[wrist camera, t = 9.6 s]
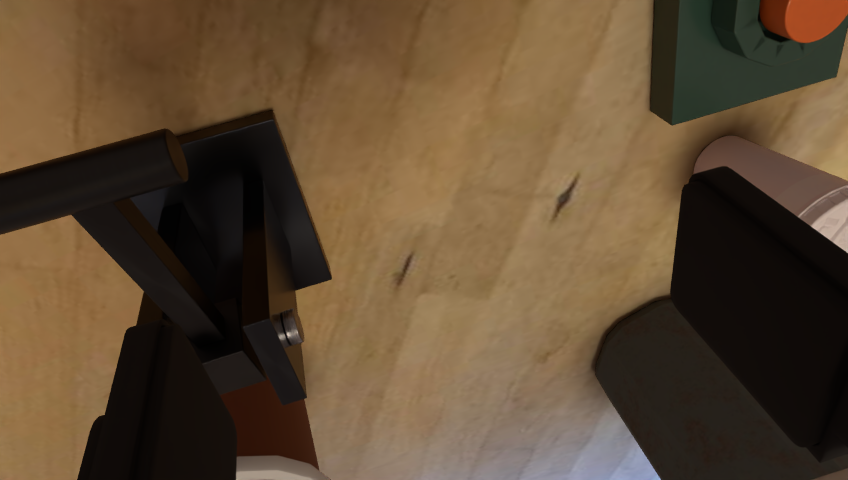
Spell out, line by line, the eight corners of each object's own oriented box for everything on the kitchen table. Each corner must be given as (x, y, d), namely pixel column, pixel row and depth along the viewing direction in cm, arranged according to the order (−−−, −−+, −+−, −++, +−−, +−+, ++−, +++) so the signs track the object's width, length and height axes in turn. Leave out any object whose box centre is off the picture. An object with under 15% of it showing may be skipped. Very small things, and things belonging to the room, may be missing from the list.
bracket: (106, 155, 28) (36, 317, 19) (272, 109, 29) (285, 243, 20) (193, 308, 34) (173, 491, 25) (330, 267, 35) (361, 429, 25)
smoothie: (668, 217, 39) (840, 372, 28) (678, 128, 35) (881, 265, 24) (757, 193, 40) (958, 334, 29) (776, 103, 36) (1016, 225, 25)
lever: (-33, 157, 15) (-48, 229, 14) (163, 104, 16) (167, 169, 14) (175, 355, 25) (178, 408, 24) (291, 319, 26) (301, 369, 24)
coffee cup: (341, 337, 38) (373, 508, 28) (291, 433, 42) (304, 614, 32) (192, 307, 34) (170, 494, 24) (151, 416, 38) (119, 616, 28)
